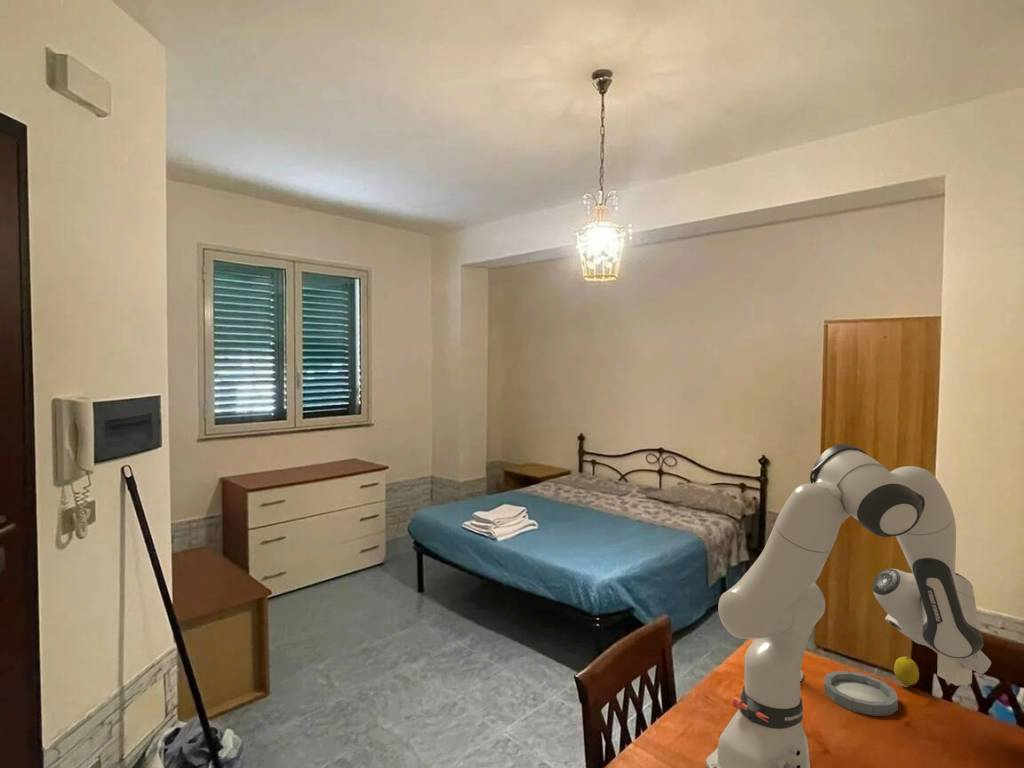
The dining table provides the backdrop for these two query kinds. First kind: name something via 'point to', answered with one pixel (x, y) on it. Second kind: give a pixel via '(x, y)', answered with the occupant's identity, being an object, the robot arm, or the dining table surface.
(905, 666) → the lemon
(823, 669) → the dining table surface
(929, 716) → the dining table surface
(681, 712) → the dining table surface
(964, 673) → the block
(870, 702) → the dish
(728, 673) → the dining table surface
